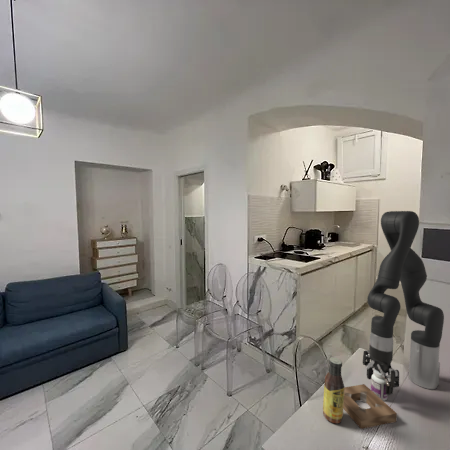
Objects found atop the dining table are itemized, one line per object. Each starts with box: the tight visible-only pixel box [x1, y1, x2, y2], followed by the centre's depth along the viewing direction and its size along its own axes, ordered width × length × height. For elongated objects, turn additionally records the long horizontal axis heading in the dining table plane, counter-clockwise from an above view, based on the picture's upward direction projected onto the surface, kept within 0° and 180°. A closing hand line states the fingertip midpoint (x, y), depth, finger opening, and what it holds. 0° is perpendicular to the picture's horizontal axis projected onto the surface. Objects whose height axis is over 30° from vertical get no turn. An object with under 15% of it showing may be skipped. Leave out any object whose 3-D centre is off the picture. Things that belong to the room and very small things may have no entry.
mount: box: [343, 383, 398, 430], centre depth 86 cm, size 14×14×3 cm
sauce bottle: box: [322, 356, 345, 424], centre depth 81 cm, size 7×6×20 cm
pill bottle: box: [370, 368, 388, 402], centre depth 92 cm, size 5×5×10 cm
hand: (378, 386), depth 92 cm, fingers open, 8 cm apart
